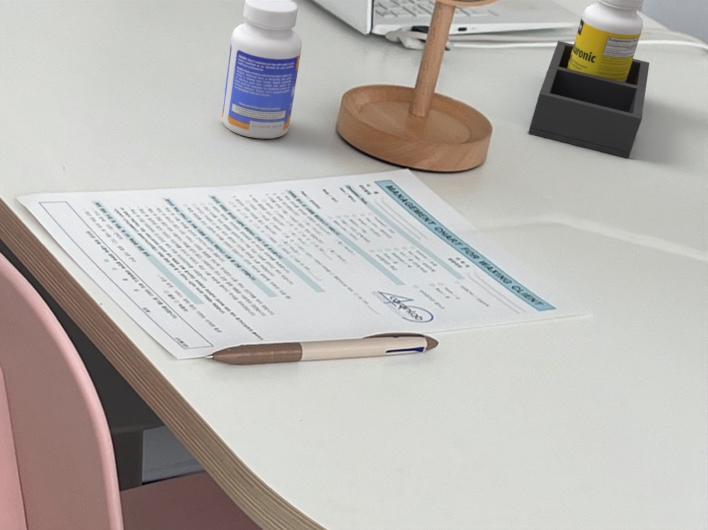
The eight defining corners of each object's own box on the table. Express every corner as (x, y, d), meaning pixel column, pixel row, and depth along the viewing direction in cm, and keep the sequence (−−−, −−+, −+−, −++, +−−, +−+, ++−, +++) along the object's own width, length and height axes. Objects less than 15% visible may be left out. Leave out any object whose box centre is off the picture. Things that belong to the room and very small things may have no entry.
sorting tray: (547, 76, 124) (558, 40, 122) (637, 98, 123) (649, 62, 121) (528, 133, 111) (539, 93, 109) (628, 158, 109) (641, 118, 107)
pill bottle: (299, 139, 102) (321, 14, 96) (238, 142, 100) (257, 15, 94) (268, 111, 106) (287, -10, 100) (208, 114, 103) (225, -10, 98)
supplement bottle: (552, 81, 121) (583, -27, 115) (605, 85, 122) (638, -21, 117) (574, 103, 117) (607, -7, 111) (629, 108, 118) (664, -1, 112)
